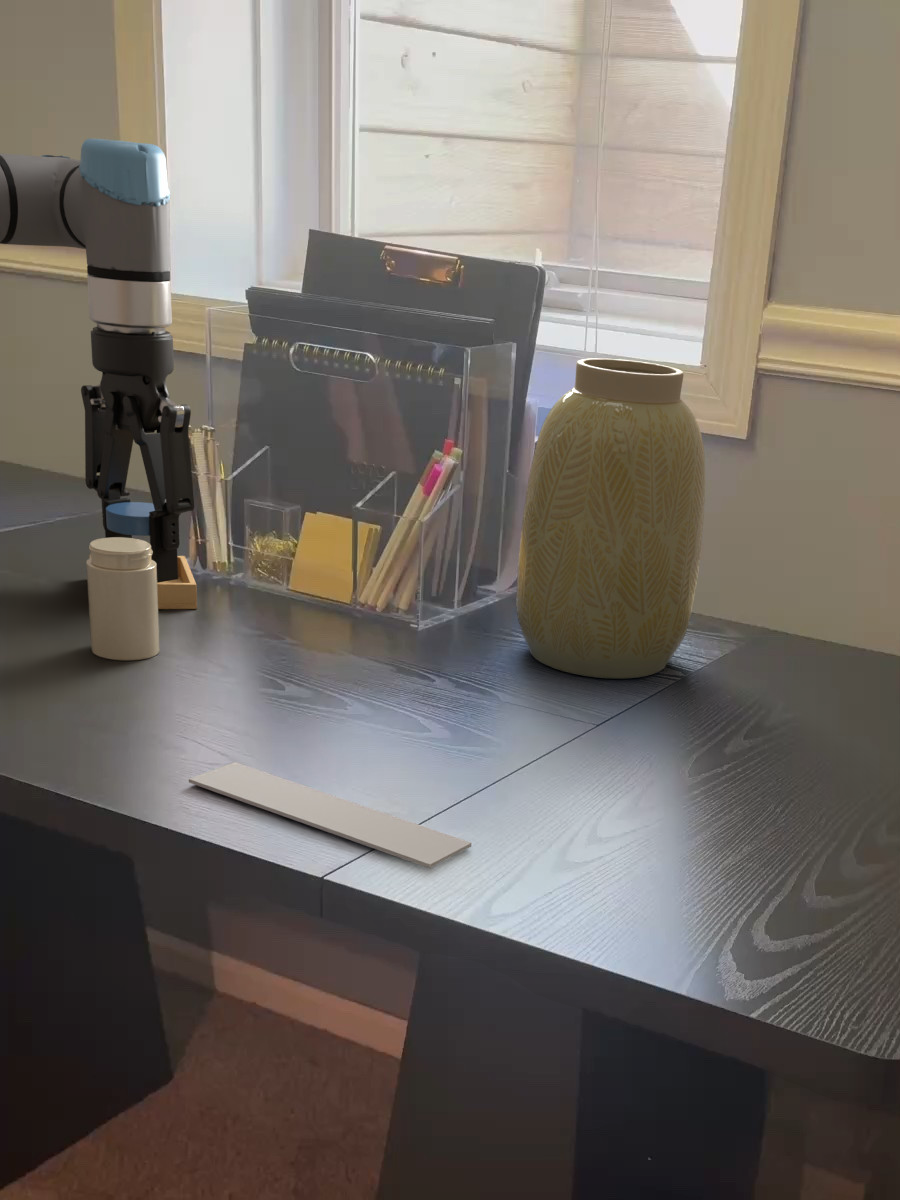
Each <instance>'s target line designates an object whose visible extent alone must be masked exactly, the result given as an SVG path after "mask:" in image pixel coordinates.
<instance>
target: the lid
mask: <svg viewBox="0 0 900 1200" xmlns="http://www.w3.org/2000/svg"><path fill="white" fill-rule="evenodd" d="M152 511H155V509H154V505H153V502H141V501H139V502H138V501H130V502H126V503H116V504H112V505H109V506H107V507H106V521H107V528H108V529H109V530H111V531H113V532H116V533H120V534H126V535H132V536H140V537H141V536H142V537H145V536H146V537H150V525H149V515H150V514H149V512H152Z"/></svg>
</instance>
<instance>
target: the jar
mask: <svg viewBox="0 0 900 1200" xmlns="http://www.w3.org/2000/svg"><path fill="white" fill-rule="evenodd" d="M88 550H89V552H90V553H89V556H90V555H91V558H90V557H89V558H87V560H86V562H85V565H86V567H85V568H86V581H87V582H86V583H87V598H88V615H89V630H90V631H89V632H90V634H89V635H90V647H91V652H92V654H93V655H95V656H97V657H100V658H103V659H108V660H113V661H140V660H147V659H150V658H153V657H155V656H157V655H158V654H160V650H161V649H160V648H161V647H160V623H159V622H160V621H159V609H158V591H157V564H156V562H155V561H154V560H152V554H153V551H152V549H151V545H150V542H148V541H146V540H143V539H138V538H133V537H132V538H123V537H111V538H105V537H102V538H97V539H94V540H92V541H91V542H90V543H89V546H88Z"/></svg>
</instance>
